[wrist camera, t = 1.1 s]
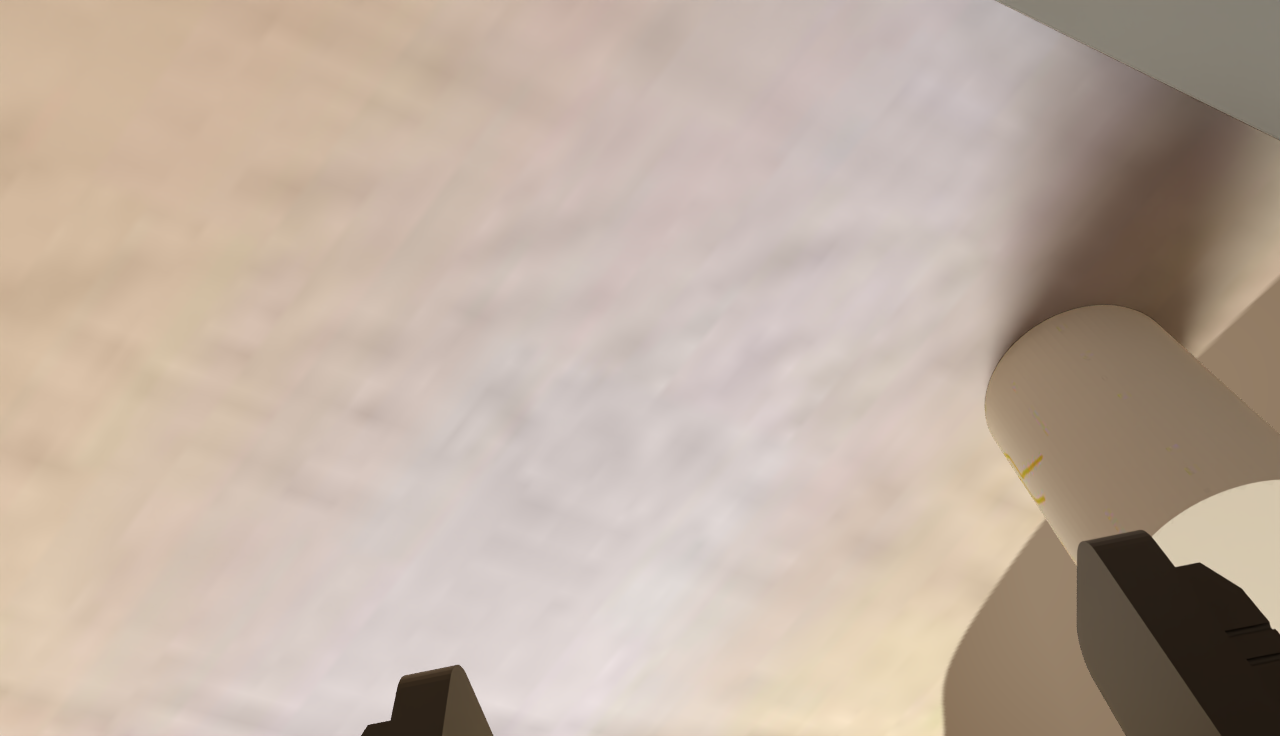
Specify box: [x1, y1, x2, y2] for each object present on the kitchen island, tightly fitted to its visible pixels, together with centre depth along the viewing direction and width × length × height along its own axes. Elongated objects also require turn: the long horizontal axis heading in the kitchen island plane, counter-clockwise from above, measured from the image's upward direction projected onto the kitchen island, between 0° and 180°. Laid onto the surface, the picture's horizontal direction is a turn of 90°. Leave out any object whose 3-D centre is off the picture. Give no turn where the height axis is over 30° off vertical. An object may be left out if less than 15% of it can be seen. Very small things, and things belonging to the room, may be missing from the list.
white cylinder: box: [985, 305, 1280, 634], centre depth 37 cm, size 8×8×12 cm
